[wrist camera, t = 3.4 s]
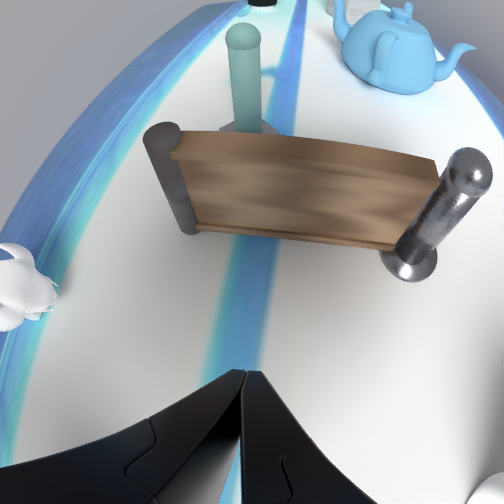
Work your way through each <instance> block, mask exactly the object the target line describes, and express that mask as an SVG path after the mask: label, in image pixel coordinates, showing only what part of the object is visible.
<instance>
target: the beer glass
mask: <svg viewBox="0 0 504 504" xmlns="http://www.w3.org/2000/svg"><path fill="white" fill-rule="evenodd" d="M466 504H504V472H499V473H496V474H494V475H492V476H490V477H489V478H487V479H486V480H485V481H483V482H482V483H481V484H480V485H479V486H478V487H477V489H476V490H475V491H474V492H473V494H472V495H471V497H470V498H469V500H468V501H467V503H466Z"/></svg>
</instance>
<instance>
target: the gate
mask: <svg viewBox="0 0 504 504" xmlns="http://www.w3.org/2000/svg"><path fill="white" fill-rule="evenodd" d="M143 143H144V145H145V148H146V150H147V153H148V155H149V158H150V160H151V162H152V165H153V167H154V170H155V172H156V174H157V177H158V179H159V181H160V184H161V186H162V188H163V191H164V193H165V195H166V198H167V200H168V202H169V205H170V207H171V209H172V211H173V214H174V216H175V218H176V220H177V222H178V225H179V227H180V229H181V231H182V232H183V233H185V234H188V235H194V234H197V233H199V232H201V231H202V230H203V231H213V232H223V233H233V234H243V235H253V236H262V237H272V238H281V239H290V240H299V241H309V242H317V243H326V244H335V245H344V246H352V247H361V248H369V249H378V250H386V251H392V250H393V249H394V248H395V244H396V242H397V241H398V240H399V238H400V237H401V235H402V234H403V233H404V231H405V230H406V229H407V227H408V226H409V224H410V223H411V222H412V220H413V219H414V217H415V216H416V214H417V213H418V212H419V210H420V209H421V207H422V206H423V204H424V203H425V201H426V200H427V198H428V197H429V195H430V194H431V192H432V191H433V190H434V191H435V190H436V189H437V187H438V186H439V184H440V179H439V175H438V172H437V168H436V165H435V162H434V160H431V159H427V158H422V157H418V156H413V155H409V154H404V153H399V152H394V151H389V150H384V149H378V148H373V147H367V146H361V145H355V144H348V143H342V142H335V141H327V140H320V139H311V138H303V137H293V136H283V135H271V134H258V133H242V132H219V131H180V128H179V126H178V125H177V124H175V123H173V122H162V123H158V124H156V125H154V126H152V127H150V128H149V129H148V130H147V131H146V132H145V134H144V136H143Z"/></svg>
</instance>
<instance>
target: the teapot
mask: <svg viewBox="0 0 504 504" xmlns="http://www.w3.org/2000/svg"><path fill="white" fill-rule="evenodd" d="M332 1H333V4H334V20H333V28H334V32H335V35H336V37H337V38H338V40H339V41H340V42H341V43H342V44H343V45H342V50H341V52H342V56H343V58H344V60H345V62H346V63H347V65H348V66H349V67H350V69H351V70H352V71H353V72H354V73H355V74H356V75H357V76H358V77H359V78H361V79H362V80H364V81H366V82H367V83H369V84H371V85H373V86H376V87H378V88H380V89H383V90H386V91H389V92H393V93H397V94H405V95H412V94H416V93H420V92H423V91H425V90H427V89H429V88H430V87H431V86H432V85H433V84H434V82H437V81H443V80H445V79H447V78H448V77H449V76H450V75H451V74H452V72H453V71H454V69H455V66H456V64H457V62H458V59H459V58H460V56H461V55H462V54H463V53H464V52H466V51H467V50H472V49H477V48H476V47H474V46H471V45H468V44H464V43H458V44H456V45H454V46H453V47H452V49H451V50H450V52H449V55H448V57H447V58H446V59H445V60H443V61H437V60H436V54H435V50H434V47H433V43H432V40H431V37H430V35H429V33H428V31H427V30H426V28H425V27H423V26H422V25H421V24H419V23H417V22H415V21H414V20H412V11H413V5H412V3H410V2H407V3H405V5H404V8H403V9H400V8H396V7H392V8H391V12H389V11H384V10H372V11H370V12H368V13H367V14H365V15H364V16H363V17H362V18H361V19H360V20H358V21H357V22H356V23H355V24H354V25H353V26H352V27H351V25H350V24H349V23H348V22H347V20H346V16H345V3H344V1H343V0H332Z"/></svg>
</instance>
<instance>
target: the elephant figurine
mask: <svg viewBox="0 0 504 504" xmlns="http://www.w3.org/2000/svg"><path fill="white" fill-rule="evenodd" d="M0 248H1V249H4V250H6V251H8V252H9V253H11V254H12V255H13V256H14V259H9V260H1V261H0V331H9V330H12V329H14V328H16V327H18V326H19V325H20V324H21V323H22V322H23V320H24V318H26V319H29V320H33V321H37V320H39V319H40V318H41V315H42V312H48V311H52V310H54V309H48V307H49V306H51V305H55V304H56V303H57V294H56V292H55V290H54V288H53V286H52V284H54V285H56V286H58V285H57V284H56V283H54V282H53V281H52V280H51V279H50V278H49V277H47V276H43V275H42V274H41V273H40V272H38V271H37V269H35V263H34V258H33V256H32V254H31V253H30V252H29V251H28V250H27V249H26V248H24V247H23V246H20V245H17V244H13V243H2V244H0ZM58 287H59V286H58Z"/></svg>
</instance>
